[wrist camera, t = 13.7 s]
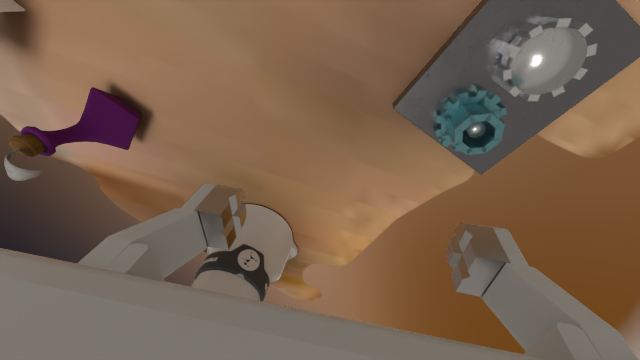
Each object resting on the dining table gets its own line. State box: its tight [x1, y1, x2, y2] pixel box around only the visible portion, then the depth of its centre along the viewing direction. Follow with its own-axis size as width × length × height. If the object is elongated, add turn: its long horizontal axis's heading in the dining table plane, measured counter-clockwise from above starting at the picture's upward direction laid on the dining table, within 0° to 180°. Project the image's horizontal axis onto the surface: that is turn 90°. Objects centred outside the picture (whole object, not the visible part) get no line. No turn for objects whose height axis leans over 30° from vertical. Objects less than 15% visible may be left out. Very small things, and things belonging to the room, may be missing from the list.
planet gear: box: [433, 87, 507, 155], centre depth 31 cm, size 8×8×5 cm
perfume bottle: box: [4, 87, 141, 181], centre depth 37 cm, size 8×8×18 cm
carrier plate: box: [393, 0, 640, 174], centre depth 30 cm, size 20×16×6 cm
